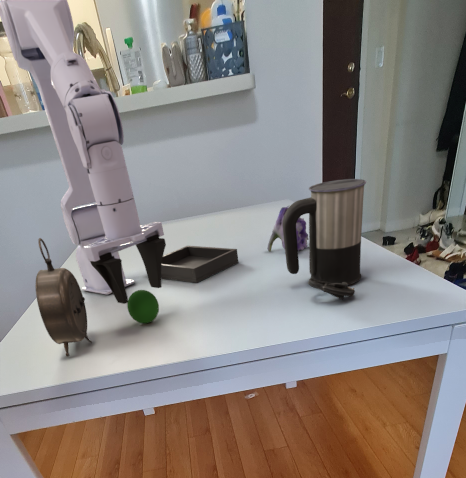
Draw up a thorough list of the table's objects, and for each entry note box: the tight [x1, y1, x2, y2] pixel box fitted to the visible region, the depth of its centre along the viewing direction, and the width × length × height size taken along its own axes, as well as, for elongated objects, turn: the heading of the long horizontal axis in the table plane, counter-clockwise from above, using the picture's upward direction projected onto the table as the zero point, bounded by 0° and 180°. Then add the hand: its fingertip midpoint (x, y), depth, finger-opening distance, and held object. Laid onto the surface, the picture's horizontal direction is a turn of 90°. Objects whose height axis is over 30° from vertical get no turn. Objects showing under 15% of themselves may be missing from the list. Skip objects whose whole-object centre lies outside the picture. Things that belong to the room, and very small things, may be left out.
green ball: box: [126, 289, 160, 324], centre depth 79 cm, size 5×5×5 cm
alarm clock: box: [34, 237, 93, 358], centre depth 72 cm, size 11×5×16 cm, turn 5°
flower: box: [267, 205, 309, 253], centre depth 100 cm, size 9×9×10 cm
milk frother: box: [283, 178, 367, 301], centre depth 76 cm, size 14×16×15 cm
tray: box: [161, 245, 239, 284], centre depth 101 cm, size 16×14×3 cm
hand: (140, 294), depth 78 cm, fingers open, 7 cm apart
